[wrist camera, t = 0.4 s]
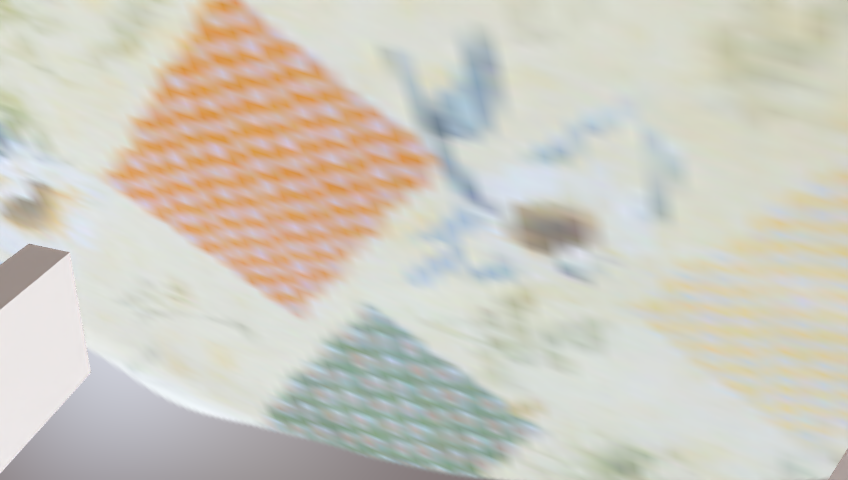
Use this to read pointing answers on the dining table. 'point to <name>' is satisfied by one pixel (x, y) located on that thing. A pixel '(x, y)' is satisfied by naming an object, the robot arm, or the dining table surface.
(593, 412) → the dining table surface
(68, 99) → the dining table surface
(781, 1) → the dining table surface
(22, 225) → the dining table surface
